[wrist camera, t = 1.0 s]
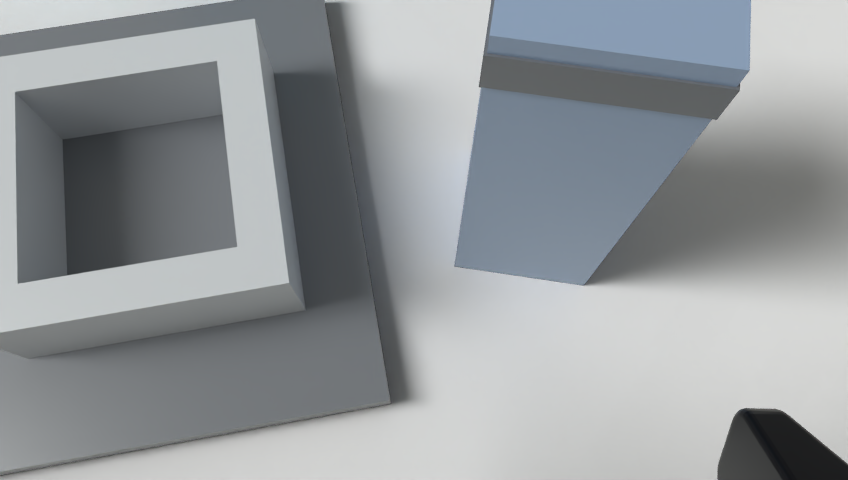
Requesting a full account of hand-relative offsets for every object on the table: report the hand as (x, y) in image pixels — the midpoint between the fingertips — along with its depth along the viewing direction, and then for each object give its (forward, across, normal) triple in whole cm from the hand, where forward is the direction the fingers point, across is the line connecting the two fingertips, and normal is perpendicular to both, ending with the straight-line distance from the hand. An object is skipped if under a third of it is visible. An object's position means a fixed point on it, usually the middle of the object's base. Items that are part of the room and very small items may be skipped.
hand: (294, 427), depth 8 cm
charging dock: (+15, +7, +7) cm, 18 cm away
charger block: (+15, -4, +6) cm, 17 cm away
